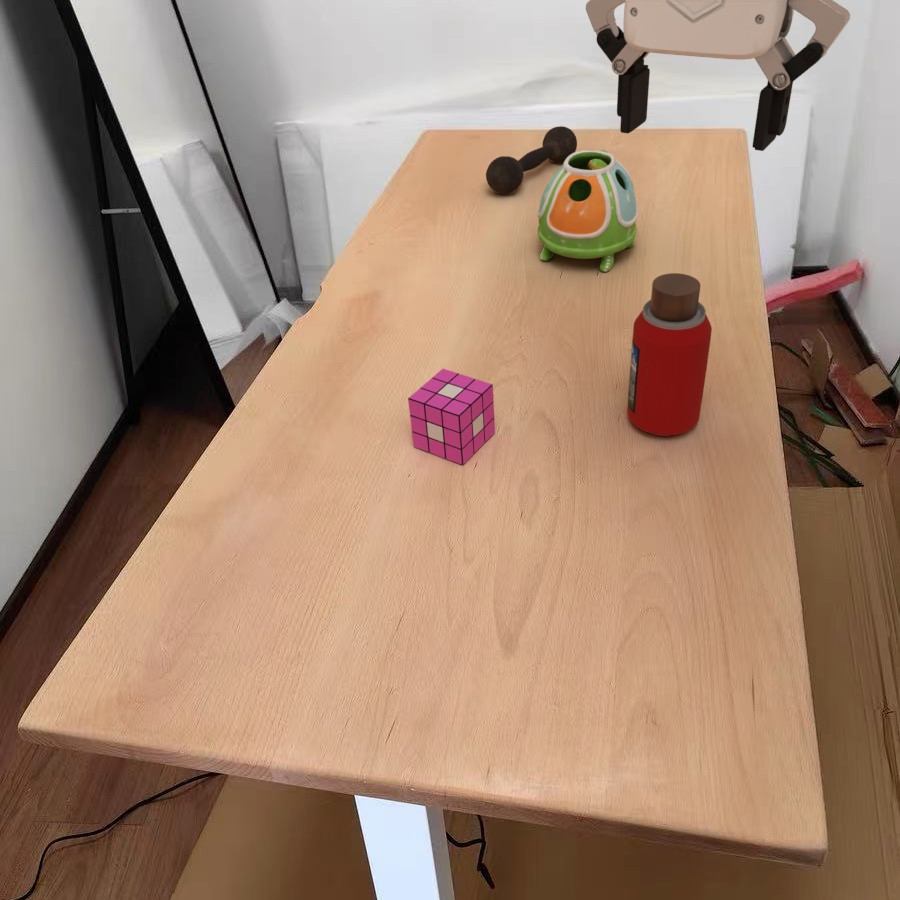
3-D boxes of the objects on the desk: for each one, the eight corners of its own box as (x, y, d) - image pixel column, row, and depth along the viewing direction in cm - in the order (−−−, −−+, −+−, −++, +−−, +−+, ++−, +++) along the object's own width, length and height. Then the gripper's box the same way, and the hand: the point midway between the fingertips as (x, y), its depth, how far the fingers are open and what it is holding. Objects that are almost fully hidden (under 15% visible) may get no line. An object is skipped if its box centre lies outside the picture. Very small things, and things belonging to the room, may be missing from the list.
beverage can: (653, 391, 86) (663, 284, 79) (712, 418, 82) (729, 306, 75) (612, 422, 83) (618, 313, 75) (672, 451, 79) (685, 338, 71)
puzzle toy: (412, 447, 82) (407, 398, 78) (446, 415, 86) (442, 367, 82) (462, 465, 79) (459, 416, 76) (495, 433, 83) (493, 383, 79)
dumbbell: (555, 154, 140) (553, 120, 137) (584, 158, 137) (582, 123, 134) (480, 197, 128) (476, 161, 125) (510, 201, 125) (506, 164, 122)
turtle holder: (650, 219, 118) (657, 130, 111) (622, 279, 105) (628, 184, 98) (562, 211, 122) (563, 125, 114) (524, 269, 109) (523, 176, 101)
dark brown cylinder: (704, 304, 76) (707, 278, 74) (687, 325, 73) (690, 299, 71) (660, 294, 77) (663, 269, 76) (642, 314, 75) (644, 289, 73)
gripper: (565, -146, 53) (563, 137, 63) (865, -156, 45) (805, 170, 55) (618, -158, 57) (608, 107, 68) (898, -170, 49) (837, 134, 60)
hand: (696, 135), depth 61 cm, fingers open, 9 cm apart
